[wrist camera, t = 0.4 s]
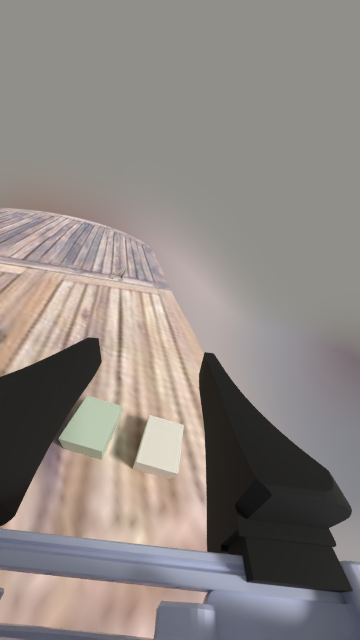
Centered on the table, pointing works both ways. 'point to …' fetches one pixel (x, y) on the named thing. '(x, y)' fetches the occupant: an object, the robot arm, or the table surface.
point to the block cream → (160, 448)
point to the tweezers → (117, 273)
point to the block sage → (91, 427)
